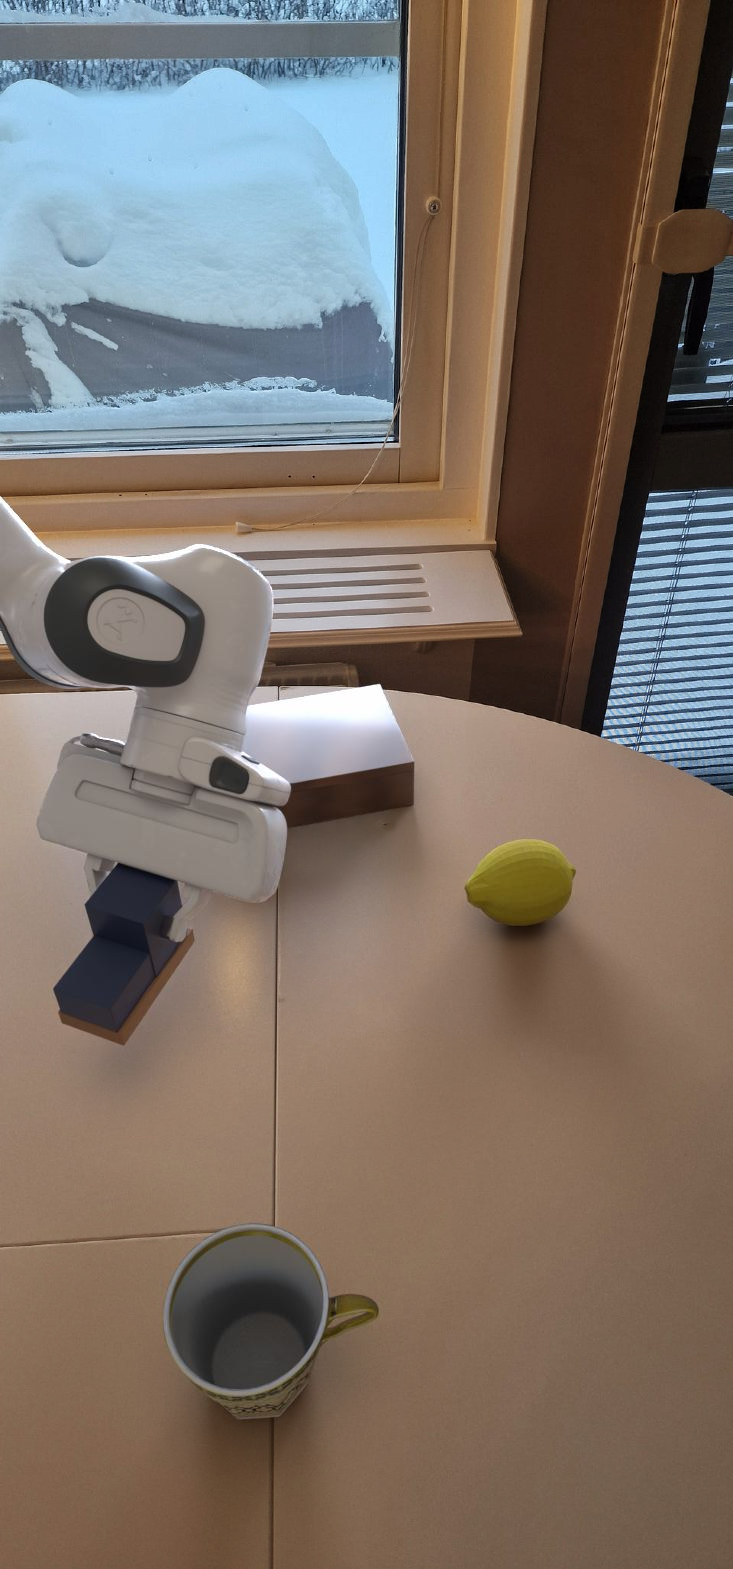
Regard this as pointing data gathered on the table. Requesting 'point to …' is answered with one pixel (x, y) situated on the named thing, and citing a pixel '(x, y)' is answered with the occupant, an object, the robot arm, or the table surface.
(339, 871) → the table surface
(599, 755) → the table surface
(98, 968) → the trainer
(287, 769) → the shoe shelf
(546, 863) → the lemon
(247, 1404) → the ceramic cup
